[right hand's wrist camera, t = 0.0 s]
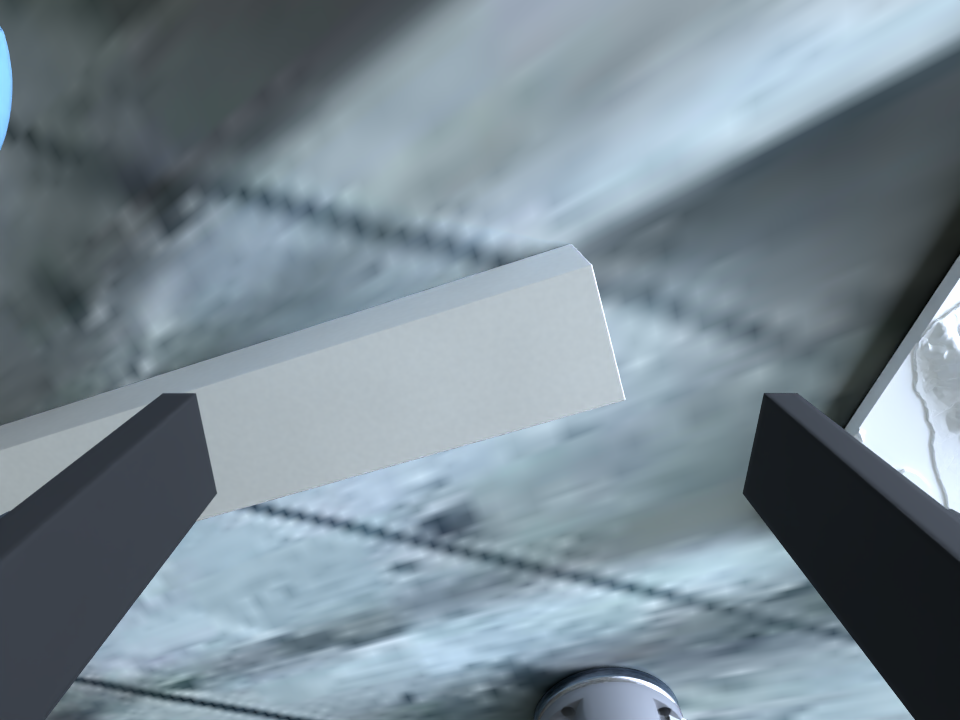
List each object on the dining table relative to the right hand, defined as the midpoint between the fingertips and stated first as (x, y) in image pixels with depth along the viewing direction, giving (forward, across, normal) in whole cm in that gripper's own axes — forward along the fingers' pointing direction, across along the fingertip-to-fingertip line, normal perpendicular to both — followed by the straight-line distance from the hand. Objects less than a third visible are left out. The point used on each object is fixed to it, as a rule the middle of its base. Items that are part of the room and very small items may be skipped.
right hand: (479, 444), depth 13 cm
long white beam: (+28, +27, +16) cm, 42 cm away
